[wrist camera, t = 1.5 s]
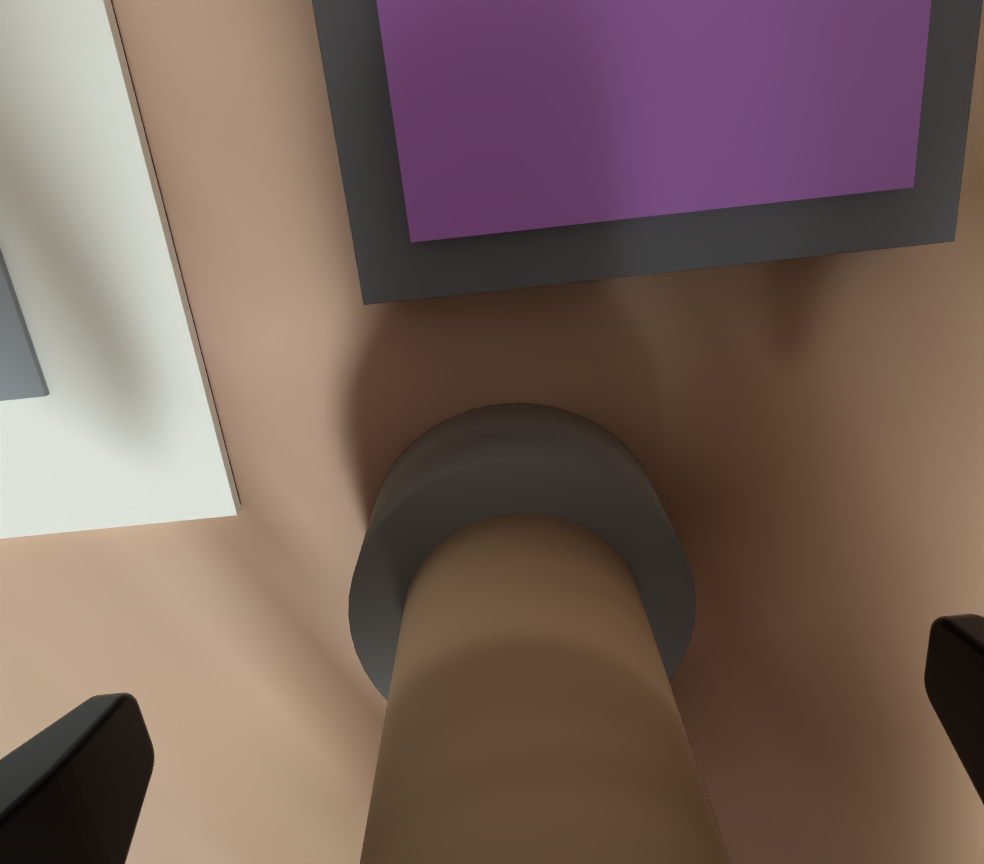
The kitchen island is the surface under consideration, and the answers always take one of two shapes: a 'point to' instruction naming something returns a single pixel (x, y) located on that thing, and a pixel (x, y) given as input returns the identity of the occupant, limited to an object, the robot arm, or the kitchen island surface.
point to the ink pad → (640, 134)
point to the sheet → (92, 296)
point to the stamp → (527, 651)
